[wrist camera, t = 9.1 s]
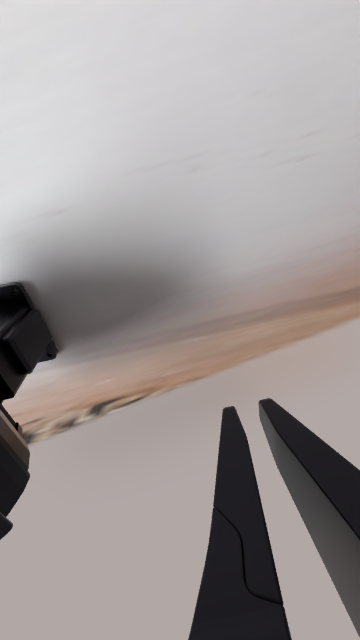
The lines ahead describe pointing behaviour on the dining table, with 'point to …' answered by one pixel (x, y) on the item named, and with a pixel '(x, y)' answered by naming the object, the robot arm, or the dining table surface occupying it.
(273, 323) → the dining table surface
